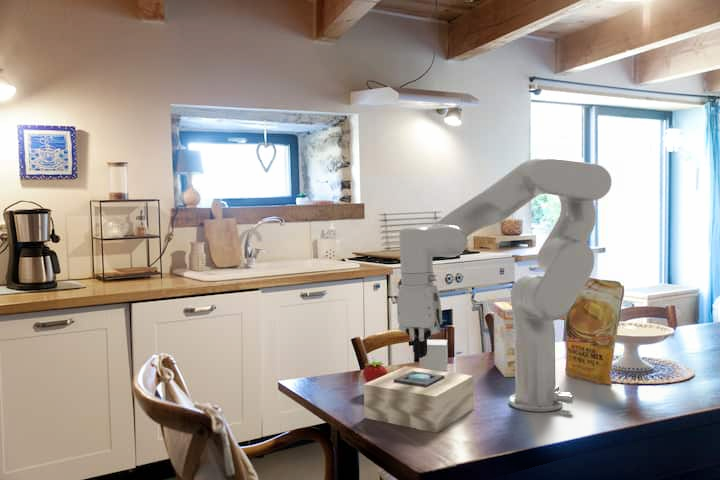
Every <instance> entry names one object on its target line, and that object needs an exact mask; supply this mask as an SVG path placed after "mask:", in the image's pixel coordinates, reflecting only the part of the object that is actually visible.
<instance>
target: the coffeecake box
mask: <svg viewBox="0 0 720 480" xmlns="http://www.w3.org/2000/svg"><path fill="white" fill-rule="evenodd" d="M493 342H494V343H493V348H494V349H493V350H494V351H493V353H494V355H493V356H494V359H493V360H494V366H496V368H497V369H498V371H499V372H500V373H501V374H502V376H503V377H504V378H515V334H514V318H513V311H512V305H511V301H494V302H493Z"/></svg>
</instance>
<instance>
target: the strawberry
mask: <svg viewBox="0 0 720 480" xmlns="http://www.w3.org/2000/svg"><path fill="white" fill-rule="evenodd" d="M371 357H372V359H373V361H371V362H369V363H365V364H364V366H365V367H364V369H363V376H364V377H363V378H364V380H365V383H368V382H370V381H373V380H375V379H377V378H380V377H382V376H384V375H386V374H388V371H387V369H386V367H384V366H382V365H383V362H382V361H377V362H376V361H375V358H373V356H371Z"/></svg>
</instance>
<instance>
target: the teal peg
mask: <svg viewBox="0 0 720 480" xmlns="http://www.w3.org/2000/svg"><path fill="white" fill-rule="evenodd" d="M429 379H430V376H429V375H425V374H414V375H410V376H409V380H413V381H420V382H425V381H427V380H429Z"/></svg>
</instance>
